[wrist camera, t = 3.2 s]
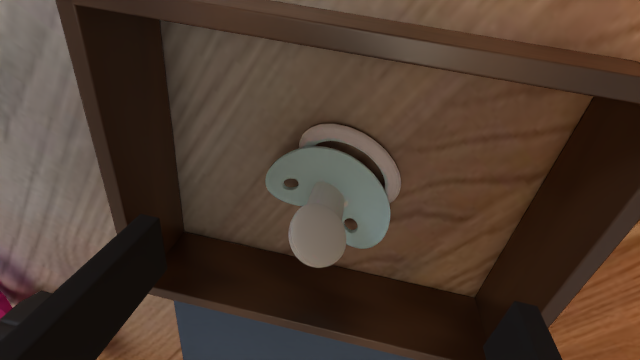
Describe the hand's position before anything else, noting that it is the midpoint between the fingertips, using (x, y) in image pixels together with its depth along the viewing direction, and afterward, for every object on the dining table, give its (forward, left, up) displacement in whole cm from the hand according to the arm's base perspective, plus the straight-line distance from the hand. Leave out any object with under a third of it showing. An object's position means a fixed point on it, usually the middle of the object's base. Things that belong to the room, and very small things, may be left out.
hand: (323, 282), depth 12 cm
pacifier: (0, 0, -8) cm, 8 cm away
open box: (0, 0, -8) cm, 8 cm away
